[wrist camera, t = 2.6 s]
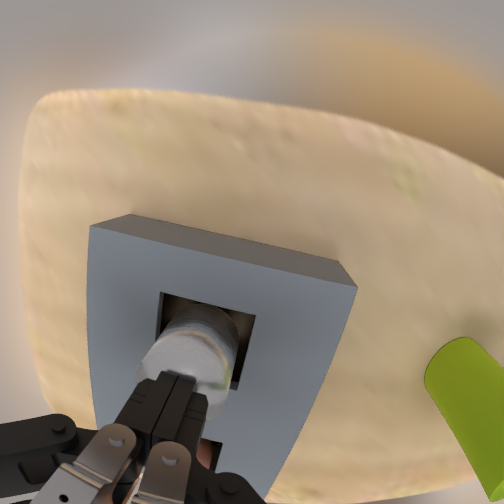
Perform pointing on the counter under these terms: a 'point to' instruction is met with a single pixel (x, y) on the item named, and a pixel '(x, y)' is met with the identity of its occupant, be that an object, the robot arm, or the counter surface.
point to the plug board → (227, 296)
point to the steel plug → (196, 352)
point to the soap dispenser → (472, 407)
